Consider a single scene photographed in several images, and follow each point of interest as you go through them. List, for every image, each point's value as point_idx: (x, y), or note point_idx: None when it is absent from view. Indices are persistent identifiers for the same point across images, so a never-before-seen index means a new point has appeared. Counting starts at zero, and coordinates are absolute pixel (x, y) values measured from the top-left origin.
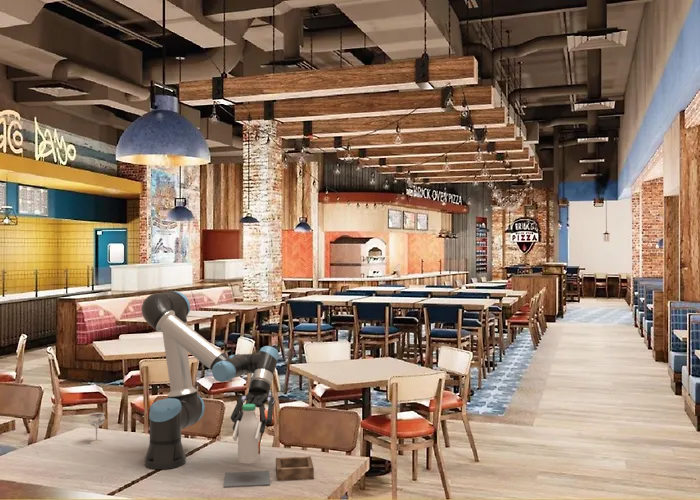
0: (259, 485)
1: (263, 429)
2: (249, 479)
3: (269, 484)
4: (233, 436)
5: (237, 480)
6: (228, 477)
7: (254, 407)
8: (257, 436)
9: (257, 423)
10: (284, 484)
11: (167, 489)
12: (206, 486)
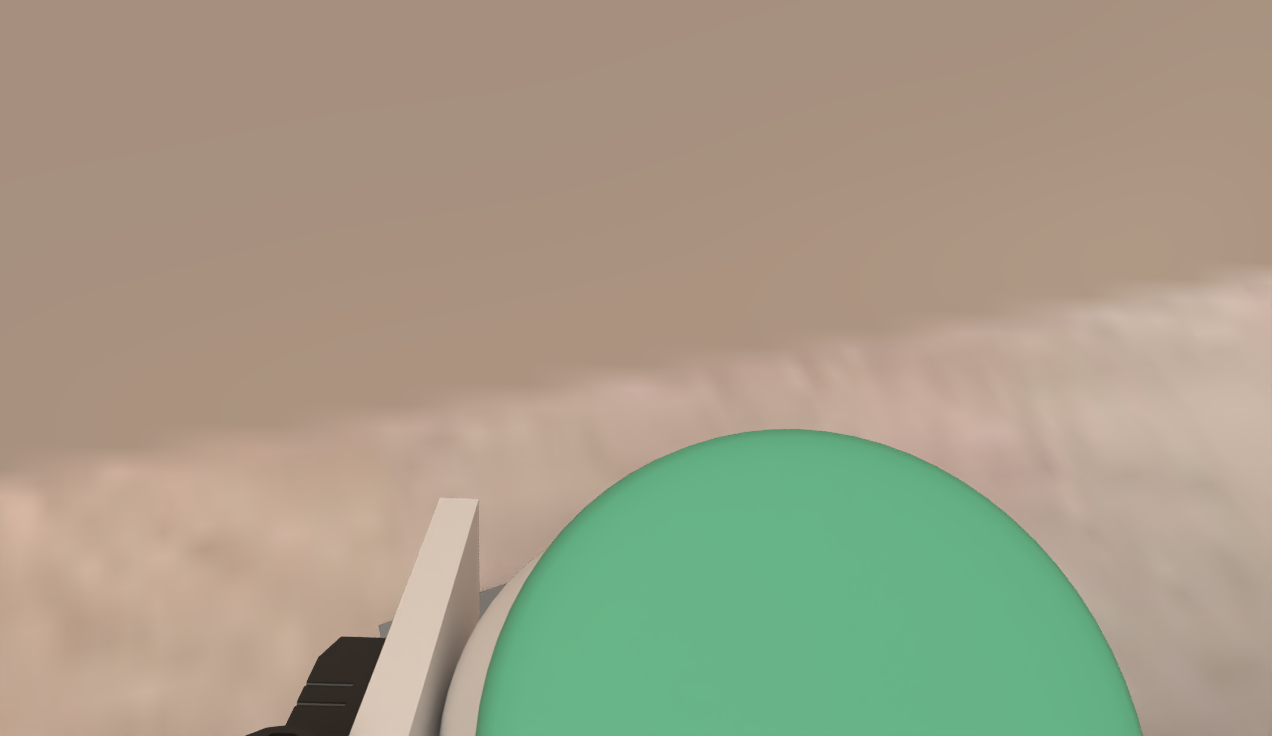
0: (479, 594)
1: (314, 673)
2: None
3: (386, 624)
4: None
5: None
6: None
7: (489, 666)
8: (434, 521)
9: (455, 726)
10: (245, 687)
11: (1181, 388)
12: None
